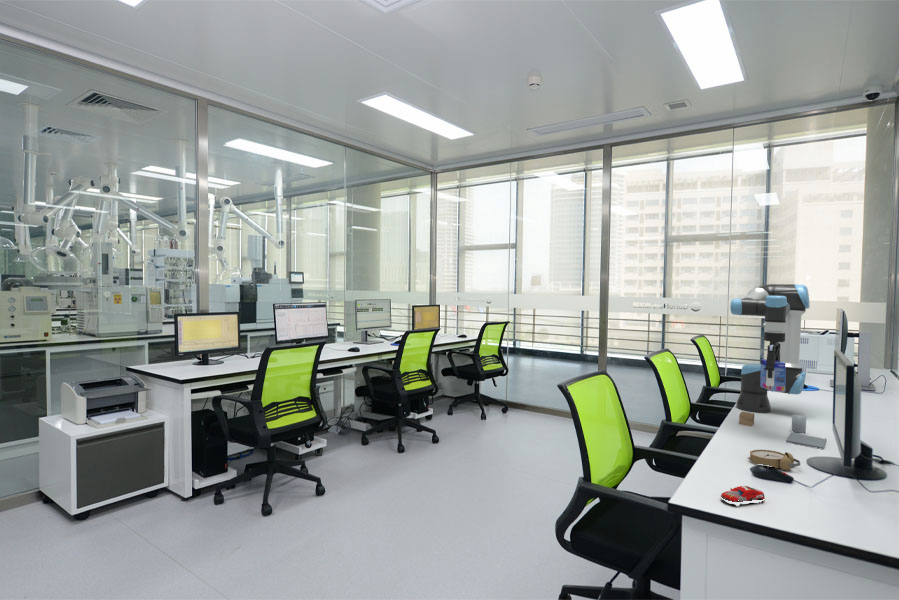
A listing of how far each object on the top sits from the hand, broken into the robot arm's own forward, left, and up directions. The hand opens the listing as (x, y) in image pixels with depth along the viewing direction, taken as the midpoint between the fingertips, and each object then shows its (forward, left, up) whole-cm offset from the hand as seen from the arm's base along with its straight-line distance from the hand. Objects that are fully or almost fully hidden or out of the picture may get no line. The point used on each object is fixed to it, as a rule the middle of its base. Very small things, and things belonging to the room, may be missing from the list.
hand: (772, 383), depth 202 cm
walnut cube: (-11, -11, -22) cm, 27 cm away
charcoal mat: (0, +12, -22) cm, 25 cm away
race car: (+81, +4, -22) cm, 84 cm away
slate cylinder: (-14, +8, -22) cm, 27 cm away
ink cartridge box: (0, 0, -3) cm, 3 cm away
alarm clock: (+40, +7, -22) cm, 46 cm away
